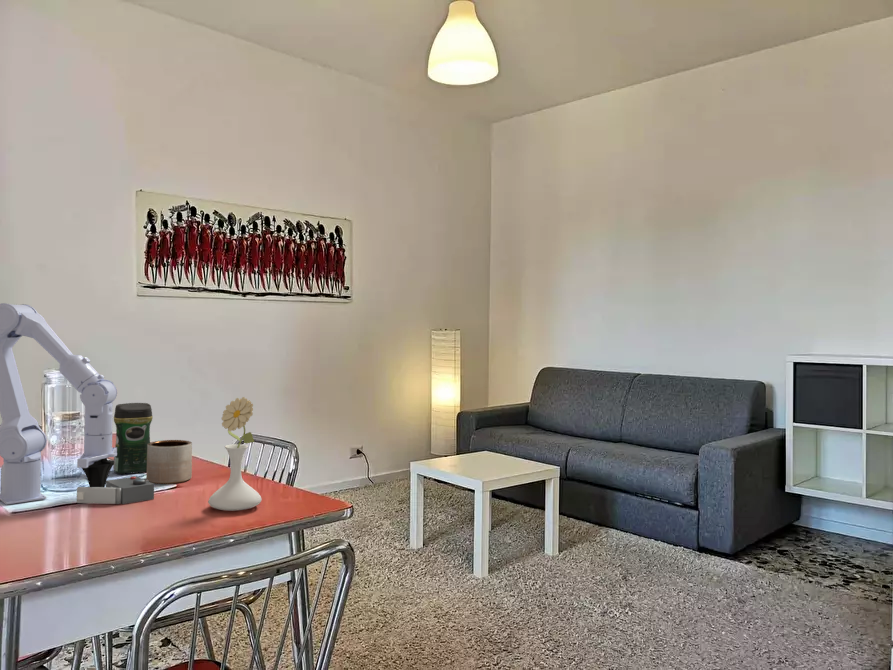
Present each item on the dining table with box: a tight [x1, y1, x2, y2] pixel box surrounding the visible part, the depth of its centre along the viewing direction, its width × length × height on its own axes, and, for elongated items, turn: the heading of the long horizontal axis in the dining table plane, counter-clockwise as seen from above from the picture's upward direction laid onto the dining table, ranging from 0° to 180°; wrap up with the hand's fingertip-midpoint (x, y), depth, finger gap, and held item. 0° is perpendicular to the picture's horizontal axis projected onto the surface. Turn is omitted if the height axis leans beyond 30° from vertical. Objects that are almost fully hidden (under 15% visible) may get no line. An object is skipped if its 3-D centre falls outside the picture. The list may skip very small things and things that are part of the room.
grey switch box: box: [105, 476, 155, 505], centre depth 160 cm, size 10×7×4 cm
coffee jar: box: [112, 402, 153, 475], centre depth 187 cm, size 10×8×19 cm
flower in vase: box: [207, 396, 263, 512], centre depth 152 cm, size 13×11×25 cm
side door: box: [76, 486, 121, 505], centre depth 153 cm, size 10×1×3 cm, turn 91°
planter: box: [146, 439, 193, 485], centre depth 178 cm, size 11×11×10 cm
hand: (97, 493), depth 157 cm, fingers closed
